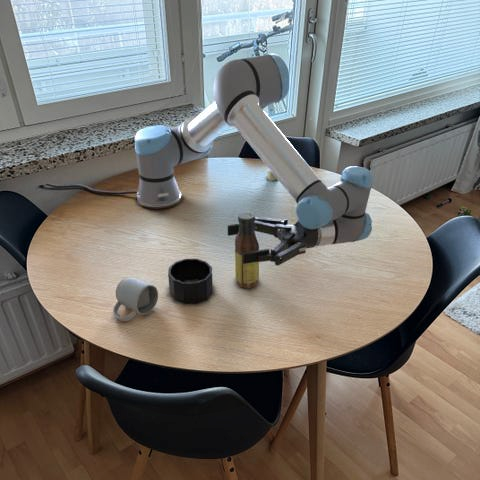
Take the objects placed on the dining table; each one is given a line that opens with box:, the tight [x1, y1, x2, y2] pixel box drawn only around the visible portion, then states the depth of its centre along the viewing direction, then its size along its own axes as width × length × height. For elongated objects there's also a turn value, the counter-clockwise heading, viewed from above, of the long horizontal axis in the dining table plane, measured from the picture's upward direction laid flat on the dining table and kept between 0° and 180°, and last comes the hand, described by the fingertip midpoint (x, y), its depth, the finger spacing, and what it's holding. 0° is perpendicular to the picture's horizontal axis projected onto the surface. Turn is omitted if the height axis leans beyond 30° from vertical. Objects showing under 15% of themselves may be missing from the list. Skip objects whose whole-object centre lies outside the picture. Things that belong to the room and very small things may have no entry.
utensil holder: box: [167, 258, 214, 305], centre depth 112 cm, size 11×11×6 cm
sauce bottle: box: [234, 211, 260, 289], centre depth 111 cm, size 6×6×20 cm
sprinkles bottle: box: [266, 167, 278, 181], centre depth 165 cm, size 5×5×14 cm
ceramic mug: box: [112, 277, 159, 322], centre depth 106 cm, size 11×8×8 cm
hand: (234, 243), depth 109 cm, fingers open, 13 cm apart
